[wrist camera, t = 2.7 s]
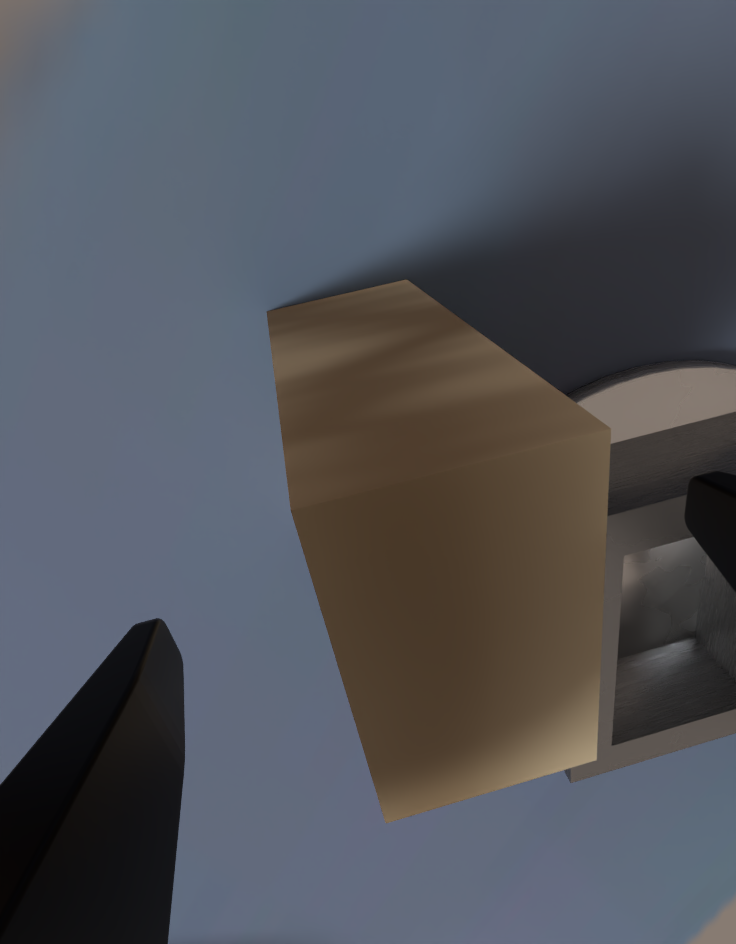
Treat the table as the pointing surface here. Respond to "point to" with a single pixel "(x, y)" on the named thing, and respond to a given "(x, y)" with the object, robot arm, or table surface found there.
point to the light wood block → (445, 542)
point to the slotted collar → (662, 564)
